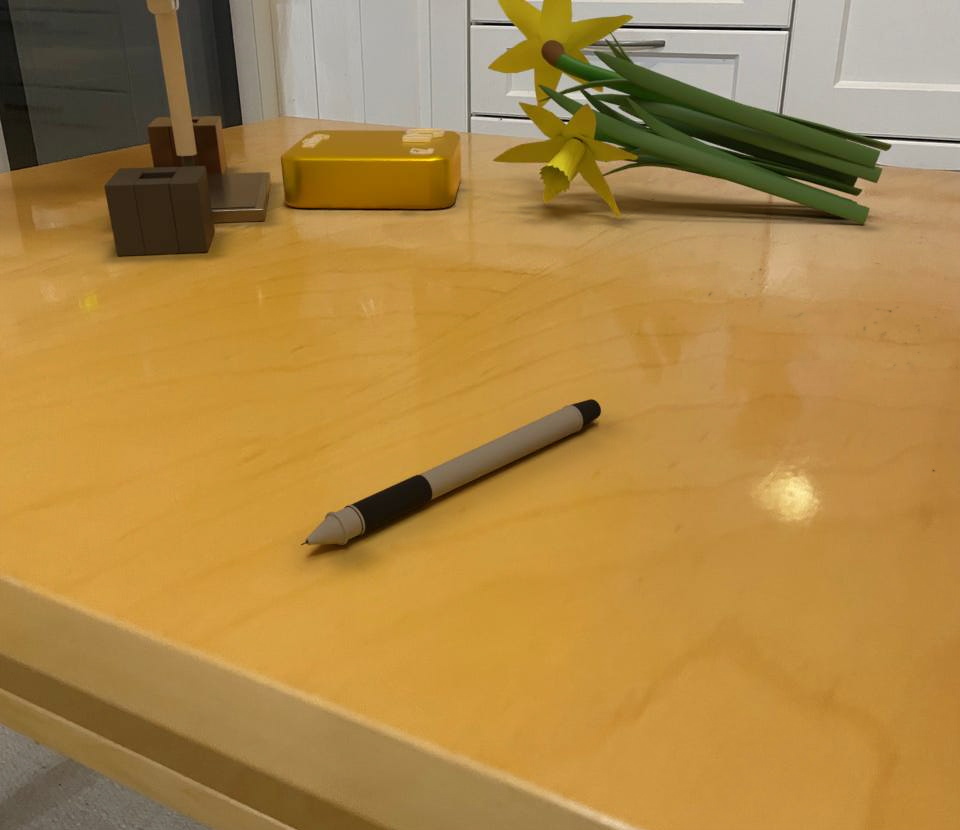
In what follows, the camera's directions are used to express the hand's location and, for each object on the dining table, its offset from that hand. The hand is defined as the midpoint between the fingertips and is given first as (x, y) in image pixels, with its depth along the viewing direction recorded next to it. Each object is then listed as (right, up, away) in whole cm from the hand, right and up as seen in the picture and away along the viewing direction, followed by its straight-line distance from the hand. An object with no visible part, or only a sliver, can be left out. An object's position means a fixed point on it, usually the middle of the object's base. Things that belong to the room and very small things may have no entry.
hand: (164, 12), depth 72 cm
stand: (-5, -4, +23) cm, 24 cm away
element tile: (+15, -9, +16) cm, 23 cm away
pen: (+24, -37, -33) cm, 55 cm away
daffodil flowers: (+41, -12, +10) cm, 44 cm away
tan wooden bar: (0, -10, +6) cm, 12 cm away
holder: (0, -18, -1) cm, 18 cm away
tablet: (-1, -11, +12) cm, 16 cm away
